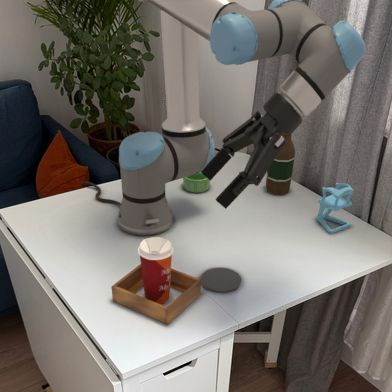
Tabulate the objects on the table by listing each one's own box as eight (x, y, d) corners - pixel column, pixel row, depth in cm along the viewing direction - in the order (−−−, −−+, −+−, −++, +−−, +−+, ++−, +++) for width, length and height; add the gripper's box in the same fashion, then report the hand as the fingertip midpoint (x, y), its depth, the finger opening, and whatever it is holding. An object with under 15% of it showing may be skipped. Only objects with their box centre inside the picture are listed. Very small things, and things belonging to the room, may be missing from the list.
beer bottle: (272, 197, 157) (283, 116, 141) (260, 186, 163) (269, 107, 146) (294, 193, 160) (307, 112, 143) (281, 182, 165) (292, 104, 149)
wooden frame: (112, 300, 118) (111, 286, 115) (147, 272, 126) (146, 258, 124) (168, 324, 112) (168, 310, 109) (201, 293, 120) (201, 279, 118)
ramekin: (204, 195, 157) (205, 182, 154) (177, 190, 159) (177, 177, 156) (214, 184, 163) (215, 170, 160) (188, 179, 166) (188, 165, 163)
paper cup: (173, 307, 116) (172, 255, 107) (139, 307, 116) (135, 254, 107) (174, 287, 122) (174, 235, 113) (142, 286, 122) (139, 234, 112)
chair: (329, 214, 150) (338, 175, 142) (350, 226, 145) (360, 186, 137) (310, 221, 147) (317, 181, 139) (330, 234, 142) (340, 193, 134)
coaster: (192, 283, 123) (192, 282, 123) (213, 264, 130) (213, 263, 129) (228, 297, 120) (228, 296, 119) (248, 277, 126) (248, 275, 125)
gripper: (327, 141, 89) (240, 228, 97) (281, 100, 107) (211, 176, 115) (302, 111, 85) (213, 205, 93) (258, 74, 103) (188, 155, 111)
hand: (212, 189), depth 104 cm, fingers open, 13 cm apart
